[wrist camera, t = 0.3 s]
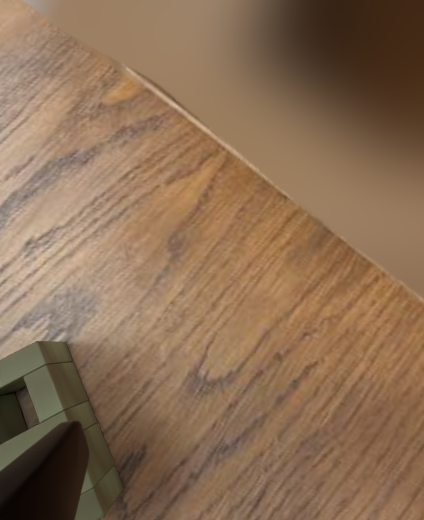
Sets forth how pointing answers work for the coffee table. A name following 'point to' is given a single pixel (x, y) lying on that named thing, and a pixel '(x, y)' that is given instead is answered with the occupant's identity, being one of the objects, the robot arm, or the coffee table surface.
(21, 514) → the robot arm
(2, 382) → the rack
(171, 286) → the coffee table surface
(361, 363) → the coffee table surface
